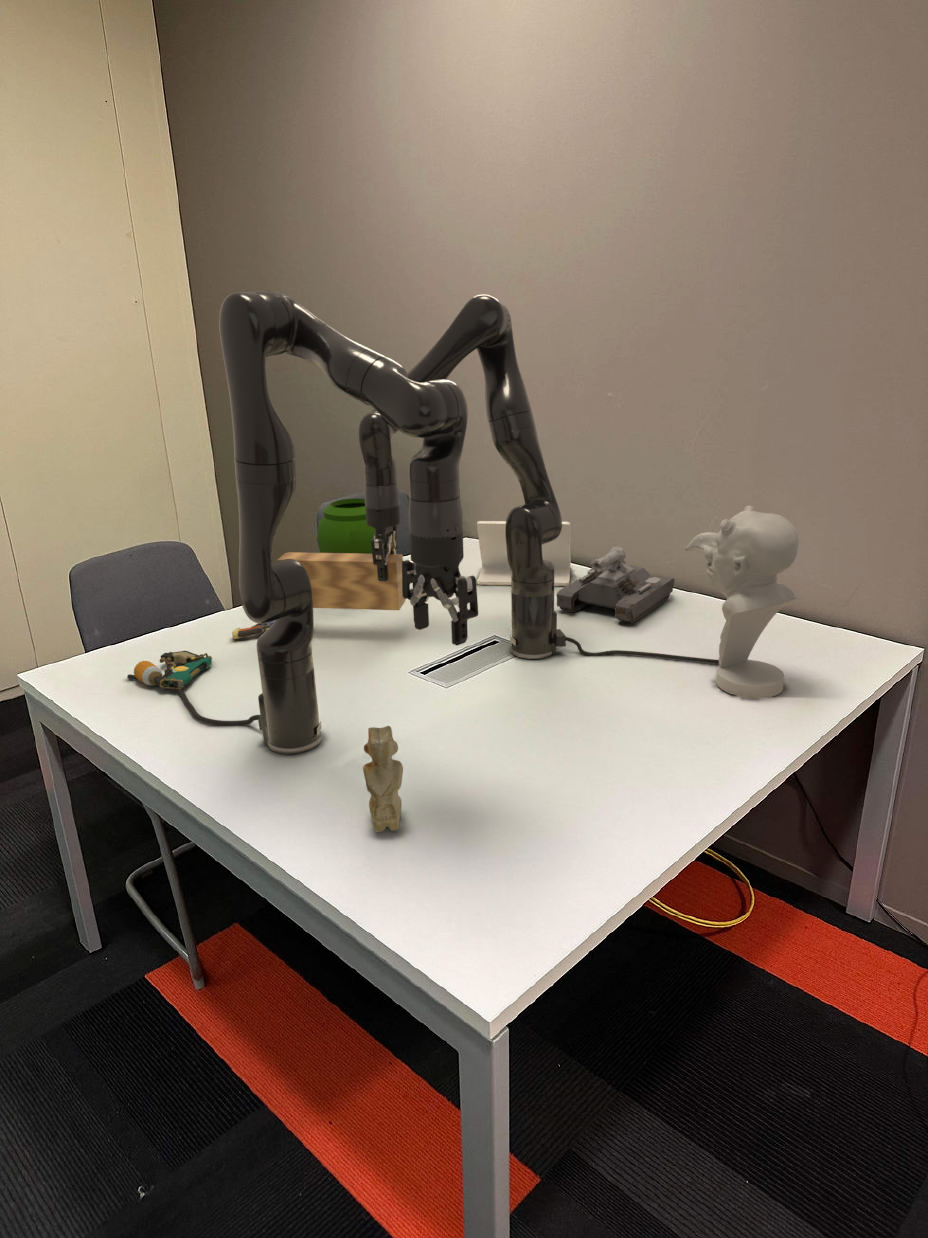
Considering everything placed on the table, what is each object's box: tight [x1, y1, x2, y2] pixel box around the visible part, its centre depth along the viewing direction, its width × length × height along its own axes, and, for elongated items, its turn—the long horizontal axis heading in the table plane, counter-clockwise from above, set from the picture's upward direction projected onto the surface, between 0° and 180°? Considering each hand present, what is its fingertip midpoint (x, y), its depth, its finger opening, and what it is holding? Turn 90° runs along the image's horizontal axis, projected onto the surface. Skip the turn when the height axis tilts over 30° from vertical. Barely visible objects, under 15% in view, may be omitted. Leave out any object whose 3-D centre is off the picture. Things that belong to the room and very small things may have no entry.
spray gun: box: [133, 650, 213, 690], centre depth 180 cm, size 4×17×15 cm
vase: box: [316, 497, 376, 554], centre depth 225 cm, size 20×20×24 cm
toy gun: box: [231, 620, 275, 640], centre depth 206 cm, size 3×19×10 cm
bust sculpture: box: [684, 505, 799, 699], centre depth 167 cm, size 16×24×35 cm
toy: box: [556, 546, 676, 624], centre depth 212 cm, size 25×20×15 cm
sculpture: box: [362, 725, 404, 833], centre depth 125 cm, size 6×7×15 cm
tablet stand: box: [476, 520, 572, 587], centre depth 236 cm, size 18×25×17 cm
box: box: [276, 551, 406, 611], centre depth 195 cm, size 28×6×11 cm, turn 81°
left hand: (440, 635), depth 125 cm, fingers open, 8 cm apart
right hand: (386, 575), depth 193 cm, fingers closed on box, 6 cm apart
